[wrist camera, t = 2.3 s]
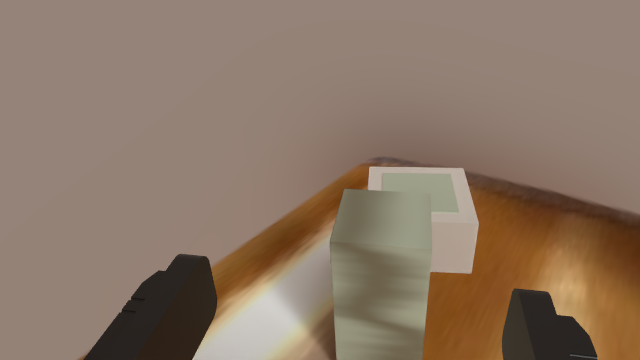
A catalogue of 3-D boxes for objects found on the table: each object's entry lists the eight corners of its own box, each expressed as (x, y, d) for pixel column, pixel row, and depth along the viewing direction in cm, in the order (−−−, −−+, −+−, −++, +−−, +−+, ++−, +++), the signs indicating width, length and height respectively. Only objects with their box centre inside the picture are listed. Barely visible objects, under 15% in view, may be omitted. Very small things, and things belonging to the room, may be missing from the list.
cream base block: (457, 214, 41) (463, 167, 38) (470, 275, 34) (479, 222, 32) (369, 212, 42) (369, 165, 40) (365, 270, 35) (365, 218, 33)
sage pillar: (420, 315, 31) (430, 193, 26) (420, 380, 27) (432, 249, 21) (348, 308, 32) (344, 188, 27) (337, 369, 28) (329, 241, 22)
